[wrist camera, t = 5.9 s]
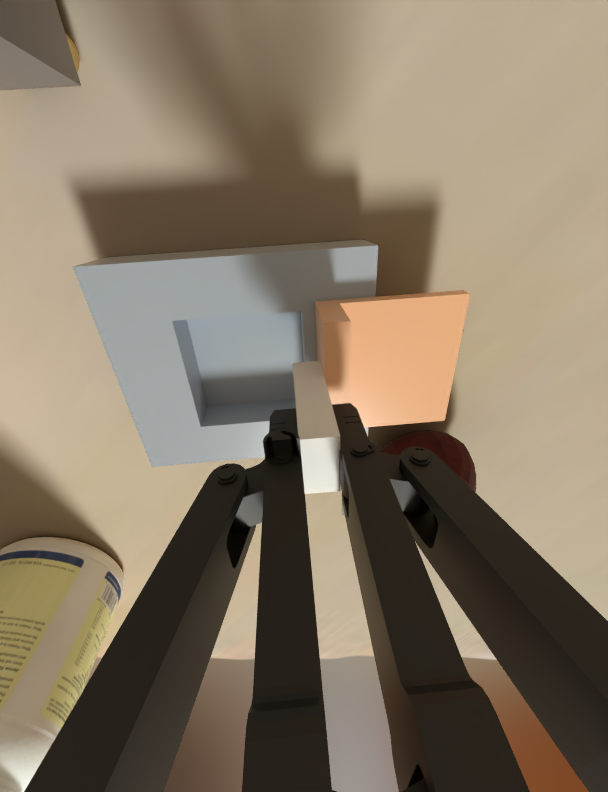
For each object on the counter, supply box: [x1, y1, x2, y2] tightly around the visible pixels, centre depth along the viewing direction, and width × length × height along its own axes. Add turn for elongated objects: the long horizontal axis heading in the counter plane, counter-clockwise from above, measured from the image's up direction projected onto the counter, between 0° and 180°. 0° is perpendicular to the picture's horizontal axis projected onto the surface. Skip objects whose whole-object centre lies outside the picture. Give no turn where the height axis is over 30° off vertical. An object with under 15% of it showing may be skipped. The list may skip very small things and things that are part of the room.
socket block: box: [73, 239, 378, 467], centre depth 21 cm, size 15×13×4 cm
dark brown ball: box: [381, 430, 476, 492], centre depth 25 cm, size 7×8×7 cm
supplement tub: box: [0, 537, 124, 792], centre depth 25 cm, size 12×12×17 cm
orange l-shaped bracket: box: [315, 290, 470, 427], centre depth 18 cm, size 8×8×4 cm
